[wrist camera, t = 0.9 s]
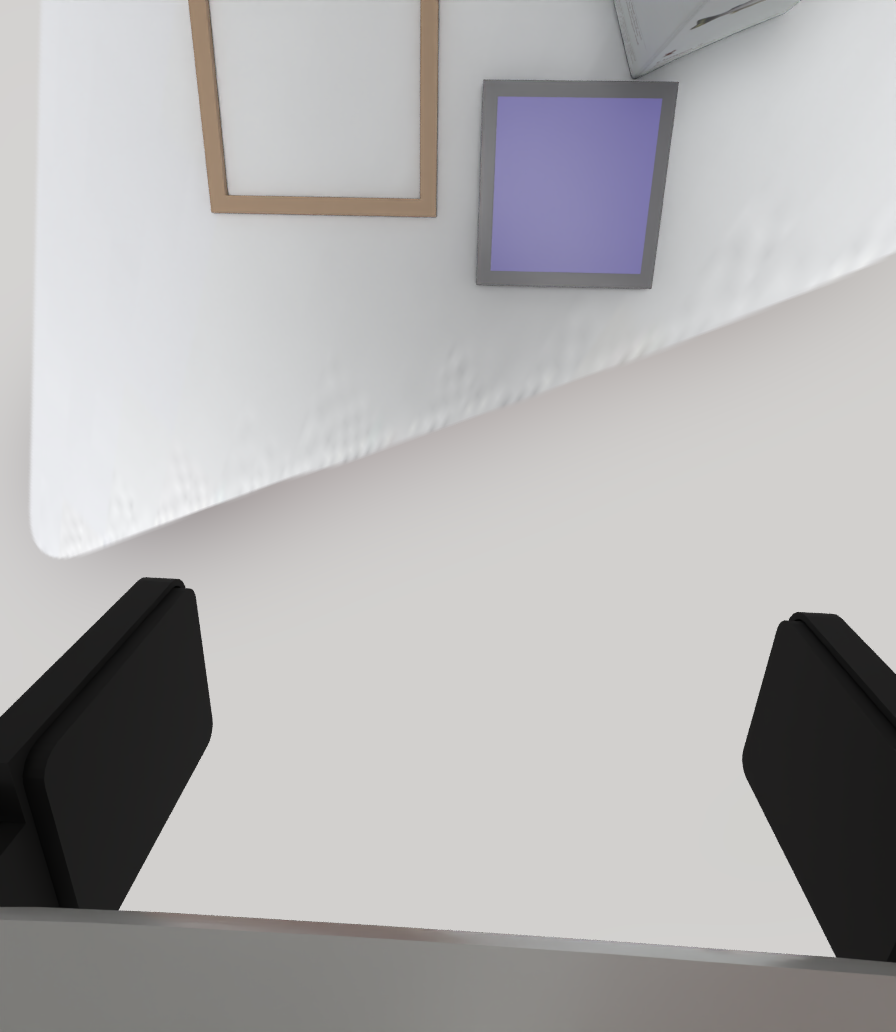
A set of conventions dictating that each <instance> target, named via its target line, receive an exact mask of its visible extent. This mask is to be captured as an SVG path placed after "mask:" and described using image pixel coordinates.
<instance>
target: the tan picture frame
mask: <svg viewBox="0 0 896 1032" xmlns="http://www.w3.org/2000/svg"><path fill="white" fill-rule="evenodd" d="M188 2H189V11H190V20H191V29H192V39H193V48H194V57H195V66H196V75H197V84H198V93H199V103H200V112H201V121H202V130H203V139H204V148H205V158H206V167H207V176H208V185H209V194H210V203H211V212H213V213H251V214H303V215H354V216H406V217H436V186H437V99H438V11H439V0H421V43H420V199H397V198H342V197H288V196H233V195H228V192H227V182H226V172H225V162H224V152H223V142H222V132H221V122H220V112H219V102H218V92H217V82H216V72H215V62H214V52H213V42H212V32H211V22H210V12H209V1H208V0H188Z"/></svg>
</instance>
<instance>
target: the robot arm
mask: <svg viewBox="0 0 896 1032" xmlns="http://www.w3.org/2000/svg"><path fill="white" fill-rule="evenodd" d="M212 725H213V722H212V713H211V706H210V698H209V690H208V683H207V676H206V669H205V661H204V654H203V647H202V639H201V632H200V624H199V617H198V610H197V604H196V596H195V593H194V591H193V590H192V589H188V588H185V585H184V583H183V582H182V581H181V580H180V579H167V578H147V577H146V578H141V579H140V580H139V581H137V582H136V583H135V584H134V585H133V586H132V587H131V588H130V589H129V590H128V592H126V593H125V594H124V595H123V596H122V597H121V598H120V599H119V600H118V601H117V602H116V603H115V604H114V605H113V606H112V607H111V608H110V609H109V610H108V611H107V612H106V613H105V614H104V615H103V616H102V617H101V618H100V619H99V620H98V621H97V622H96V623H95V624H94V625H93V626H92V627H91V628H90V629H89V630H88V631H87V632H86V633H85V634H84V635H83V636H82V637H81V638H80V639H79V640H78V641H77V642H76V643H75V644H74V645H73V646H72V647H71V648H70V649H69V650H68V651H67V652H66V653H65V654H64V655H63V656H62V657H61V658H59V659H58V661H56V662H55V664H53V665H52V666H51V667H50V668H49V670H47V671H46V672H45V673H44V674H43V675H42V676H41V677H40V678H39V679H38V680H37V681H36V682H35V683H34V684H33V685H32V686H31V687H30V688H29V689H28V690H27V691H26V692H25V693H24V694H23V695H22V696H21V697H20V698H19V699H18V700H17V701H16V702H15V703H14V704H13V705H12V706H11V707H10V708H9V709H8V710H7V711H6V712H5V713H4V714H3V715H2V716H1V717H0V1032H896V674H895V673H894V672H893V671H892V670H891V669H890V668H889V667H888V666H887V665H886V664H885V663H884V662H883V661H882V660H881V659H880V657H878V655H876V653H875V652H874V651H873V650H872V649H871V648H870V647H869V646H868V645H867V644H866V643H865V642H864V641H863V640H862V639H861V638H860V637H859V636H858V635H857V634H856V633H855V632H854V631H853V630H852V629H851V628H850V627H849V626H848V625H847V624H846V622H845V621H844V620H843V619H842V618H840V617H839V616H837V615H835V614H825V613H824V614H823V613H805V612H796V613H794V614H793V615H792V616H791V617H790V619H789V621H785V620H784V621H782V622H781V623H780V624H779V626H778V628H777V631H776V635H775V639H774V642H773V646H772V650H771V653H770V656H769V660H768V664H767V667H766V671H765V674H764V678H763V682H762V685H761V689H760V692H759V696H758V699H757V703H756V707H755V711H754V714H753V718H752V721H751V725H750V728H749V732H748V735H747V739H746V743H745V746H744V750H743V755H742V762H743V769H744V773H745V776H746V778H747V780H748V782H749V784H750V786H751V788H752V790H753V792H754V794H755V796H756V798H757V800H758V802H759V804H760V806H761V808H762V810H763V812H764V814H765V816H766V818H767V820H768V822H769V824H770V826H771V828H772V830H773V832H774V834H775V836H776V838H777V840H778V842H779V844H780V846H781V848H782V850H783V852H784V854H785V856H786V858H787V860H788V862H789V864H790V866H791V868H792V870H793V871H794V874H795V876H796V878H797V880H798V882H799V884H800V886H801V888H802V890H803V892H804V894H805V896H806V898H807V900H808V902H809V904H810V906H811V908H812V910H813V912H814V914H815V916H816V918H817V920H818V922H819V924H820V926H821V928H822V930H823V932H824V934H825V936H826V937H827V940H828V942H829V944H830V945H831V948H832V950H833V952H834V953H835V955H836V958H834V957H822V956H808V955H793V954H781V953H767V952H753V951H740V950H726V949H712V948H698V947H684V946H670V945H657V944H643V943H630V942H616V941H601V940H586V939H572V938H556V937H541V936H527V935H513V934H498V933H483V932H468V931H467V932H466V931H453V930H437V929H422V928H407V927H392V926H377V925H361V924H344V923H328V922H312V921H296V920H280V919H263V918H247V917H230V916H214V915H197V914H181V913H164V912H141V911H118V910H119V908H120V906H121V905H122V903H123V901H124V899H125V897H126V895H127V893H128V892H129V890H130V888H131V886H132V884H133V882H134V881H135V879H136V877H137V875H138V873H139V871H140V869H141V868H142V866H143V864H144V862H145V860H146V858H147V856H148V855H149V853H150V851H151V849H152V847H153V845H154V843H155V841H156V840H157V838H158V836H159V834H160V832H161V831H162V828H163V827H164V825H165V823H166V821H167V820H168V818H169V815H170V814H171V812H172V810H173V808H174V807H175V805H176V803H177V801H178V799H179V797H180V795H181V794H182V792H183V790H184V788H185V786H186V784H187V783H188V781H189V779H190V777H191V775H192V773H193V771H194V770H195V768H196V766H197V764H198V762H199V760H200V759H201V756H202V755H203V753H204V751H205V749H206V747H207V746H208V743H209V741H210V738H211V733H212Z"/></svg>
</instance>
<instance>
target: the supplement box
mask: <svg viewBox="0 0 896 1032" xmlns="http://www.w3.org/2000/svg"><path fill="white" fill-rule="evenodd" d="M800 1H801V0H614V4H615V8H616V12H617V16H618V20H619V25H620V29H621V33H622V37H623V41H624V45H625V50H626V55H627V59H628V63H629V67H630V71H631V75H632V77H633V78H634V79H637V78H639V77H641V76H643V75H645V74H647V73H649V72H651V71H653V70H655V69H657V68H659V67H661V66H663V65H665V64H667V63H669V62H671V61H673V60H675V59H677V58H679V57H682V56H684V55H686V54H689V53H691V52H693V51H695V50H698V49H700V48H702V47H704V46H707V45H709V44H711V43H713V42H716V41H718V40H720V39H723V38H725V37H727V36H730V35H732V34H734V33H737V32H739V31H741V30H744V29H746V28H749V27H751V26H754V25H756V24H759V23H761V22H764V21H766V20H769V19H771V18H774V17H776V16H779V15H782V14H784V13H786V12H787V11H788V10H790V9H791V8H792V7H793V6H795V5H796V4H797V3H799V2H800Z"/></svg>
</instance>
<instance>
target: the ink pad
mask: <svg viewBox="0 0 896 1032" xmlns="http://www.w3.org/2000/svg"><path fill="white" fill-rule="evenodd" d="M678 84H679V82H639V81H555V80H483V109H482V138H481V167H480V196H479V225H478V254H477V283H476V285H508V286H552V287H596V288H640V289H651V288H652V281H653V273H654V265H655V258H656V250H657V243H658V235H659V228H660V220H661V213H662V205H663V197H664V190H665V182H666V175H667V167H668V160H669V152H670V145H671V137H672V129H673V122H674V114H675V107H676V99H677V92H678Z"/></svg>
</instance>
